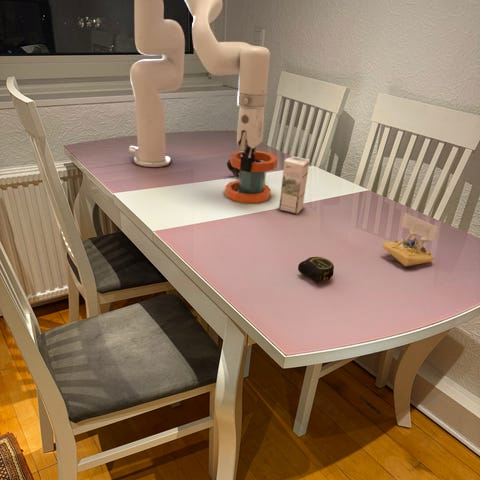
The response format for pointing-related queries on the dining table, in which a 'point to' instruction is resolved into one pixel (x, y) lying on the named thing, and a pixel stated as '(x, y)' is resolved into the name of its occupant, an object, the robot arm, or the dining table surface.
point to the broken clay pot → (235, 170)
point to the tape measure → (317, 269)
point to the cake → (412, 242)
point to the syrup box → (293, 184)
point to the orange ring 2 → (245, 197)
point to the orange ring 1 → (256, 166)
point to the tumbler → (251, 182)
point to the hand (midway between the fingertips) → (247, 169)
